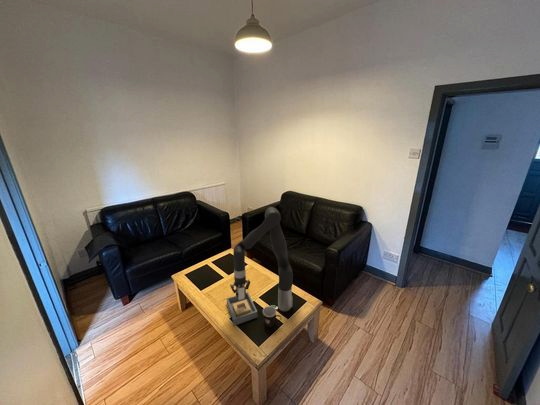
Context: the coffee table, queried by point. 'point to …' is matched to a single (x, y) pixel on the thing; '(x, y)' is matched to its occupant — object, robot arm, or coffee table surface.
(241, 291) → the peg
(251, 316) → the walled box
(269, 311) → the coffee mug
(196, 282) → the coffee table surface
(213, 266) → the coffee table surface
